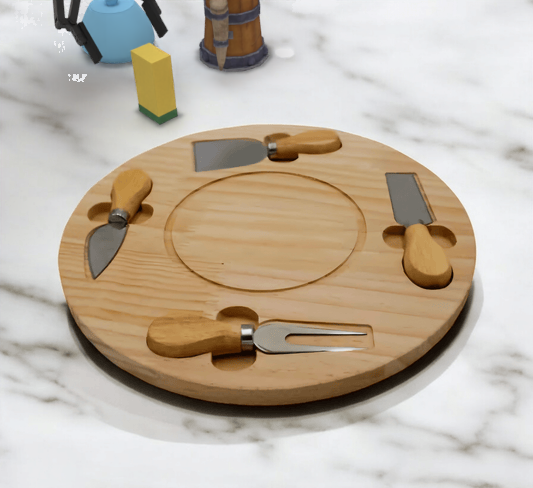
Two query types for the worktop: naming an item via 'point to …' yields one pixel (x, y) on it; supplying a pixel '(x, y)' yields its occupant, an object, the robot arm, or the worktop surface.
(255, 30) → the mug
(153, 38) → the sugar bowl
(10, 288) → the worktop surface
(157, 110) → the sponge
